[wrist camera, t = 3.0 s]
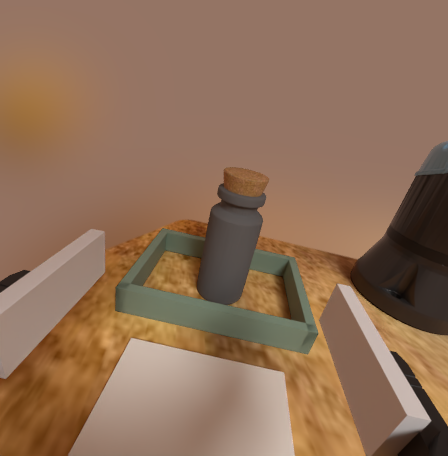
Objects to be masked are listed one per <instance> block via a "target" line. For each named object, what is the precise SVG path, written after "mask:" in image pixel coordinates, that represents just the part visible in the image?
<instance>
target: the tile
mask: <svg viewBox="0 0 448 456" xmlns="http://www.w3.org/2000/svg"><path fill="white" fill-rule="evenodd" d="M68 456H295V454H294V447H293V439H292V431H291V423H290V416H289V408H288V400H287V392H286V385H285V377H284V372H279V371H275V370H271V369H266V368H262V367H257V366H253V365H249V364H244V363H240V362H235V361H231V360H227V359H222V358H218V357H213V356H209V355H204V354H200V353H196V352H191V351H187V350H182V349H178V348H174V347H169V346H165V345H160V344H156V343H152V342H147V341H143V340H138V339H134V338H131V340H130V341H129V343H128V345H127V347H126V349H125V351H124V353H123V354H122V356H121V358H120V360H119V362H118V364H117V365H116V367H115V369H114V371H113V373H112V375H111V377H110V378H109V380H108V382H107V384H106V386H105V388H104V390H103V391H102V393H101V395H100V397H99V399H98V401H97V403H96V404H95V406H94V408H93V410H92V412H91V414H90V415H89V417H88V419H87V421H86V423H85V425H84V427H83V428H82V430H81V432H80V434H79V436H78V438H77V440H76V441H75V443H74V445H73V447H72V449H71V451H70V453H69V454H68Z"/></svg>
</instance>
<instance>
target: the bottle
mask: <svg viewBox="0 0 448 456" xmlns="http://www.w3.org/2000/svg"><path fill="white" fill-rule="evenodd" d="M268 182H269V178H268V177H266V176H265V175H263V174H261V173H258V172H255V171H251V170H247V169H243V168H235V167H230V168H225V169H224V184H221V185H219V188H218V193H217V194H218V196H219V198H221V199H222V200H221V202H220V203H218V204H216V205H214V206H213V207H212V209H211V212H210V217H209V222H208V227H207V232H206V238H205V243H204V248H203V254H202V259H201V265H200V270H199V276H198V282H197V289H198V292H199V293H200V295H201V296H202V297H203V298H204V299H206V300H208V301H210V302H214V303H219V304H223V305H228V304H232V303H235V302H236V301H238V300H239V299H240V297H241V295H242V292H243V289H244V285H245V282H246V279H247V275H248V272H249V268H250V265H251V261H252V258H253V255H254V251H255V248H256V244H257V241H258V237H259V234H260V230H261V226H262V222H263V219H262V216H261V215H260V214H259V212H258V211H257V209H258V208H259V207H262V206H263V205H264V203H265V200H266V195H265V194H264V193H263V191H264V189H265V188H266V186H267V184H268Z"/></svg>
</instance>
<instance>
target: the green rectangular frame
mask: <svg viewBox="0 0 448 456" xmlns="http://www.w3.org/2000/svg"><path fill="white" fill-rule="evenodd" d="M204 243H205V238H204V237H200V236H195V235H191V234H186V233H182V232H177V231H173V230H168V229H164V228H163V229H162V230H161V231H160V232H159V234H158V235H157V236H156V237H155V239H154V240H153V241H152V242H151V244H150V245H149V246H148V248H147V249H146V250H145V251H144V253H143V254H142V255H141V256H140V258H139V259H138V260H137V261H136V263H135V264H134V265H133V266H132V268H131V269H130V270H129V272H128V273H127V274H126V275H125V277H124V278H123V279H122V280H121V282H120V283H119V284H118V285H117V287H116V309H115V311H118V312H123V313H127V314H132V315H136V316H140V317H145V318H149V319H154V320H158V321H163V322H167V323H171V324H176V325H180V326H185V327H189V328H194V329H198V330H202V331H207V332H211V333H216V334H220V335H225V336H229V337H233V338H238V339H242V340H247V341H251V342H256V343H260V344H264V345H269V346H273V347H278V348H282V349H287V350H291V351H295V352H300V353H304V354H308V353H309V351H310V349H311V347H312V345H313V343H314V341H315V339H316V337H317V335H318V330H317V327H316V324H315V321H314V318H313V314H312V311H311V308H310V305H309V301H308V298H307V295H306V292H305V289H304V285H303V282H302V279H301V276H300V273H299V269H298V266H297V263H296V260H295V258H294V257H290V256H285V255H281V254H276V253H272V252H267V251H263V250H258V249H255V251H254V255H253V258H252V261H251V265H250V268H249V269H252V270H256V271H261V272H265V273H270V274H274V275H278V276H283V279H284V284H285V289H286V294H287V299H288V304H289V309H290V314H291V319H292V320H290V319H285V318H281V317H276V316H272V315H268V314H263V313H259V312H254V311H250V310H245V309H241V308H236V307H232V306H228V305H223V304H219V303H214V302H210V301H205V300H201V299H196V298H192V297H188V296H183V295H179V294H174V293H170V292H165V291H161V290H156V289H152V288H148V287H143V284H144V283H145V281H146V280H147V278H148V276H149V275H150V273H151V272H152V270H153V269H154V267H155V265H156V264H157V262H158V261H159V259H160V258H161V256H162V255H163V253H164V251H165V250H167V251H171V252H176V253H180V254H184V255H189V256H193V257H198V258H202V254H203V248H204Z"/></svg>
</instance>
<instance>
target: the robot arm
mask: <svg viewBox="0 0 448 456" xmlns="http://www.w3.org/2000/svg"><path fill="white" fill-rule="evenodd" d="M415 176H416V177H415V179H414V181H413V183H412V184H411V187H410V188H409V190H408V192H407V194H406V196H405V198H404V200H403V201H402V204H401V205H400V207H399V209H398V211H397V213H396V215H395V216H394V218H393V220H392V222H391V224H390V226H389V227H388V229H387V231H386V233H385V235H384V236H383V237H382V238H381V239H380V240H379V241H378V242H377V243H376V244H375V245H374V246H373V247H372V248H371V249H369V250H368V251H367V253H365V254H364V256H362V257H361V258H360V259H358V260H357V262H356V263H355V265H354V267H353V269H352V271H351V279H352V281H353V283H354V285H355V286H356V288H357V289H358V290H359V291H360V292H361V293H362V294H363V295H364V296H365V297H366V298H367V299H368V300H369V301H370V302H372V303H373V304H374V305H376V306H377V307H378V308H380V309H381V310H383V311H384V312H386V313H388V314H389V315H391V316H393V317H394V318H396V319H398V320H400V321H402V322H404V323H406V324H408V325H411V326H413V327H416V328H418V329H421V330H424V331H427V332H431V333H435V334H440V335H448V141H446V142H443V143H440V144H439V145H437V146H435V147H434V148H433V149H432V150H431V152H430V153H429V155H428V156H427V158H426V160H425V161H424V163H423V164H422V166H421V168H420V169H419V171H418V172H416V173H415ZM104 273H105V232H104V231H100V230H95V229H90V230H89V231H87V232H86V233H84V234H83V235H82V236H80V237H79V238H77V239H76V240H75V241H73V242H72V243H70V244H69V245H67V246H66V247H65V248H63V249H62V250H60V251H59V252H58V253H56V254H55V255H53V256H52V257H50V258H49V259H48V260H46V261H45V262H43V263H42V264H41V265H39V266H38V267H37V268H35V269H33V270H32V271H27V270H23V271H20V272H18V273H15V274H12V275H10V276H8V277H7V278H5V279H4V280H2V281H1V282H0V378H4V379H6V378H7V377H8V376H9V375H10V374H11V373H12V372H13V371H14V370H15V369H16V368H17V366H18V365H19V364H20V363H21V362H22V361H23V360H24V359H25V358H26V357H27V356H28V355H29V354H30V352H31V351H32V350H33V349H34V348H35V347H36V346H37V345H38V344H39V343H40V342H41V341H42V340H43V338H44V337H45V336H46V335H47V334H48V333H49V332H50V331H51V330H52V329H53V328H54V327H55V326H56V325H57V323H58V322H59V321H60V320H61V319H62V318H63V317H64V316H65V315H66V314H67V313H68V312H69V311H70V309H71V308H72V307H73V306H74V305H75V304H76V303H77V302H78V301H79V300H80V299H81V298H82V297H83V295H84V294H85V293H86V292H87V291H88V290H89V289H90V288H91V287H92V286H93V285H94V284H95V283H96V281H97V280H98V279H99V278H100V277H101V276H102V275H103V274H104ZM319 321H320V324H321V327H322V330H323V333H324V336H325V338H326V341H327V344H328V347H329V350H330V353H331V356H332V359H333V361H334V364H335V367H336V370H337V373H338V376H339V379H340V382H341V385H342V387H343V390H344V393H345V396H346V399H347V402H348V405H349V408H350V410H351V413H352V416H353V419H354V422H355V425H356V428H357V431H358V433H359V436H360V439H361V442H362V445H363V448H364V451H365V454H366V456H448V426H447V424H446V423H445V421H444V420H443V418H442V417H441V415H440V414H439V412H438V411H437V409H436V407H435V406H434V404H433V403H432V401H431V400H430V398H429V397H428V395H427V393H426V392H425V390H424V389H422V386H421V384H420V383H419V381H418V379H416V378H415V375H414V373H413V372H412V370H411V369H410V367H409V366H408V364H407V363H406V362H405V361H404V360H403V359H402V358H401V357H400V356H399V355H398V354H397V353H396V352H393V351H389V349H388V348H387V346H386V344H385V343H384V341H383V339H382V338H381V336H380V335H379V333H378V331H377V330H376V328H375V326H374V325H373V323H372V321H371V320H370V318H369V316H368V315H367V313H366V311H365V310H364V308H363V306H362V305H361V303H360V301H359V300H358V298H357V296H356V295H355V293H354V291H353V290H352V288H351V286H346V285H342V284H336V286H335V289H334V291H333V293H332V295H331V297H330V299H329V301H328V303H327V305H326V307H325V309H324V311H323V313H322V315H321V317H320V319H319Z"/></svg>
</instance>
